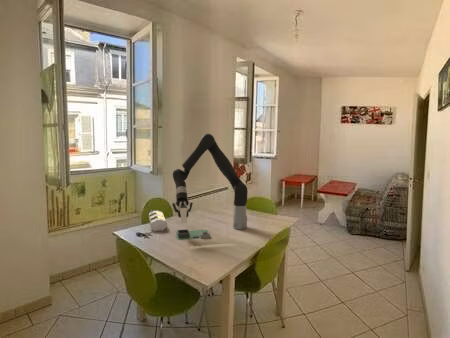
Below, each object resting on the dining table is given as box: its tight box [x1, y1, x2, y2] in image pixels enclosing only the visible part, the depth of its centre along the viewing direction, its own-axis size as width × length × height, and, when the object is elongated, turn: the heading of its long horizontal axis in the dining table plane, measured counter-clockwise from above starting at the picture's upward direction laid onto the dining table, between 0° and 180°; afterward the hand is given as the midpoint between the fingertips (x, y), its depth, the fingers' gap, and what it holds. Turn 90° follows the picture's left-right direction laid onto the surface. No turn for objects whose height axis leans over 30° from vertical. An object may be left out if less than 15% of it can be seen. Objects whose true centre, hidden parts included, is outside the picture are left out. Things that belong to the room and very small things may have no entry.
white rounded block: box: [148, 210, 167, 232], centre depth 232 cm, size 25×10×13 cm, turn 17°
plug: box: [179, 206, 188, 224], centre depth 205 cm, size 4×4×11 cm
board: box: [174, 229, 212, 241], centre depth 210 cm, size 22×16×4 cm
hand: (183, 217), depth 203 cm, fingers closed on plug, 4 cm apart
